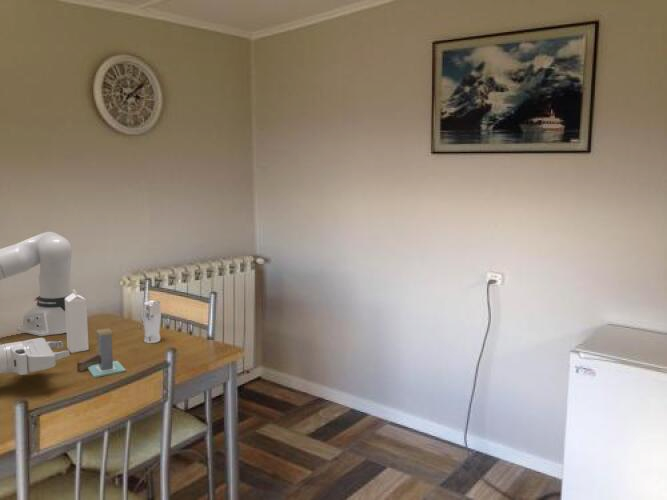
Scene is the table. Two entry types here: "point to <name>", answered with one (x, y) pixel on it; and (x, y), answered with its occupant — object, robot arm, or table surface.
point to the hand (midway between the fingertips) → (65, 348)
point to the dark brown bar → (87, 362)
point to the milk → (76, 323)
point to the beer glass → (151, 321)
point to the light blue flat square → (98, 372)
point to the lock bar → (105, 349)
